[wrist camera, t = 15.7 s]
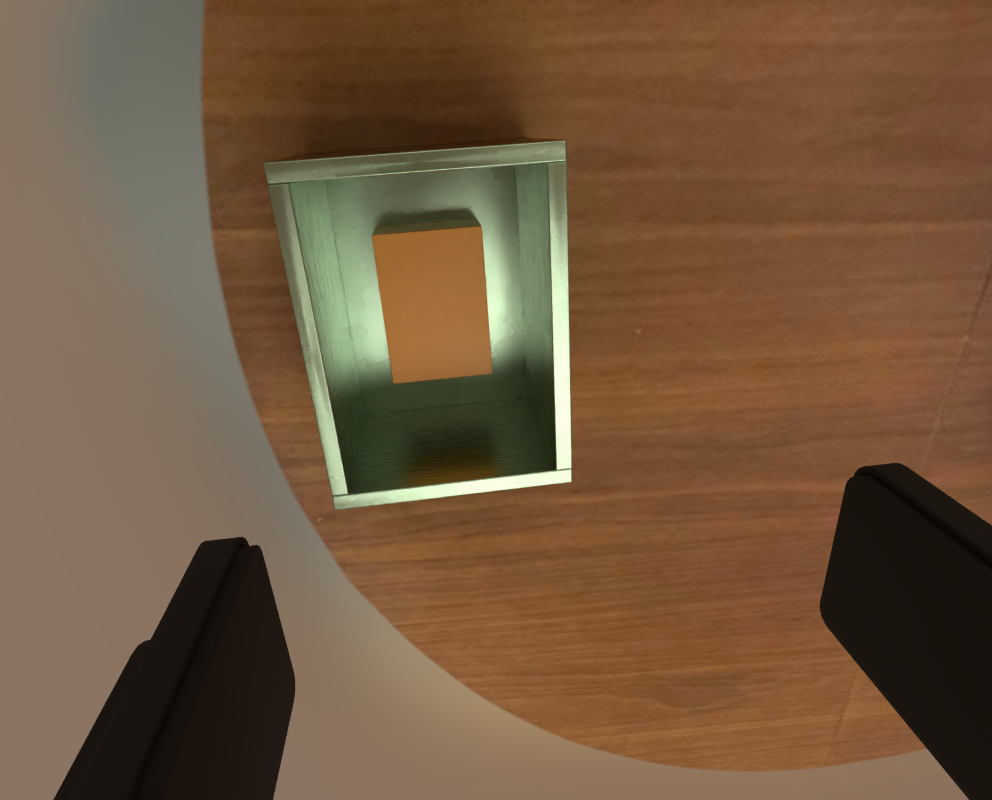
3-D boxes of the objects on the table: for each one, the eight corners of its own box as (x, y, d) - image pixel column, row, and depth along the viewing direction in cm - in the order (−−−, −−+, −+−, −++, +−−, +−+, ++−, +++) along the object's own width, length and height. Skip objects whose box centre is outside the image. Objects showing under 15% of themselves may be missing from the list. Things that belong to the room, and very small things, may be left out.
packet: (375, 226, 33) (371, 235, 30) (476, 218, 33) (482, 225, 30) (395, 365, 36) (393, 384, 33) (487, 355, 36) (492, 374, 34)
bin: (305, 153, 31) (262, 162, 23) (527, 137, 32) (566, 139, 24) (354, 424, 38) (334, 510, 29) (538, 404, 39) (572, 482, 30)
